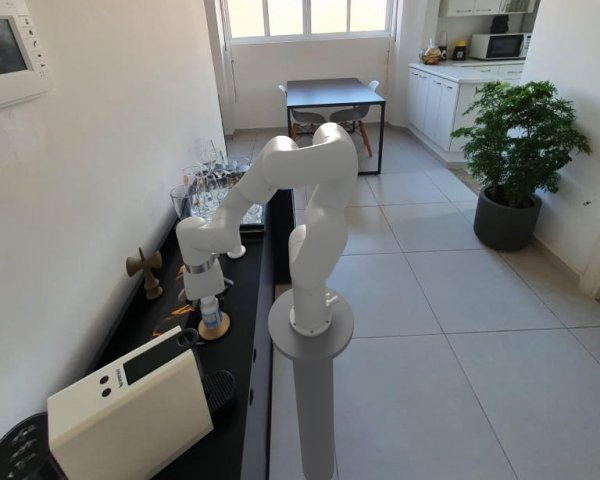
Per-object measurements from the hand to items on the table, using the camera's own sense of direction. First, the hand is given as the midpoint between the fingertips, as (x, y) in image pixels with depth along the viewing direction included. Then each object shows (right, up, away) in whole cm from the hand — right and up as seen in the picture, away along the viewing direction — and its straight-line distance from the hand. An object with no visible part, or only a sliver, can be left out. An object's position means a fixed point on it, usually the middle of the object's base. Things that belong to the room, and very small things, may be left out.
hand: (210, 309), depth 89 cm
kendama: (-23, -2, +15) cm, 27 cm away
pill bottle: (0, -5, +2) cm, 5 cm away
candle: (+1, +7, +32) cm, 33 cm away
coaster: (0, -6, +3) cm, 7 cm away
